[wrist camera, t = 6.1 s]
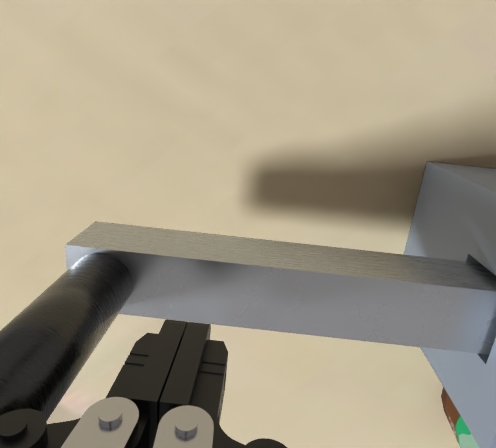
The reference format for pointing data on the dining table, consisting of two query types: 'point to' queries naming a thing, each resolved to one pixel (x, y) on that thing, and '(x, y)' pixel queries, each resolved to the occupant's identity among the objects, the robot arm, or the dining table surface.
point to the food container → (457, 423)
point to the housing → (462, 249)
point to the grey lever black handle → (236, 299)
